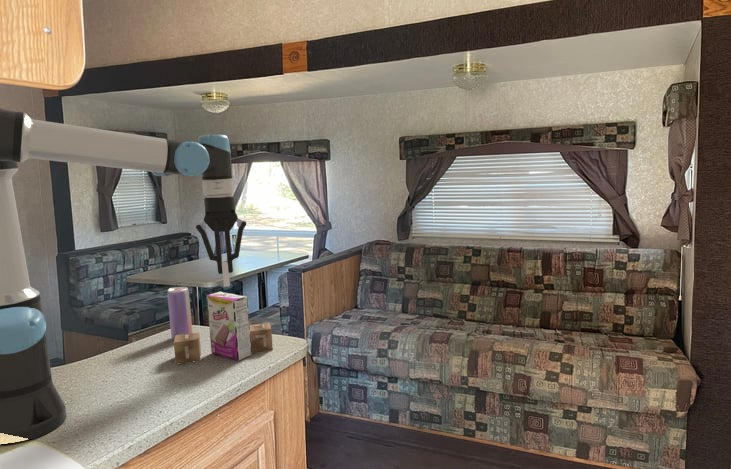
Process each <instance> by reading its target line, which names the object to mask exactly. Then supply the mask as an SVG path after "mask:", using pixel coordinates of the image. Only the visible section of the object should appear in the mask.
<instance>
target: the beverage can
mask: <svg viewBox="0 0 731 469" xmlns="http://www.w3.org/2000/svg"><path fill="white" fill-rule="evenodd" d="M166 295H167V304H168V306H167V307H168V314H169V316H168V317H169V324H170V325H169V326H170V336H171V339H172V341H174V340H175V336H176V335H181V334H190V333H193V325H192V324H193V323H192V312H191V303H190V302H191V301H190V290H189V287H187V286H175V287H170V288H168V289H167V294H166Z"/></svg>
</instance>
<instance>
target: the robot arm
mask: <svg viewBox="0 0 731 469" xmlns="http://www.w3.org/2000/svg"><path fill="white" fill-rule="evenodd" d="M197 140H198V141H197V142H196V141H192V140H187V141H183V140H176V139H175V140H174V139H167V138H162V137H156V136H149V135H148V136H147V135H141V134H134V133H129V132H121V131H115V130H110V129H109V130H107V129H100V128H95V127H93V128H92V127H87V126H81V125H80V126H79V125H72V124H69V123H68V124H67V123H59V122H53V121H47V120H40V119H33V118H31V117H30V116H29V115H28V114H27V113H26V112H21V111H16V110H15V111H14V110H11V109H10V110H9V109H5V108H0V433H4V434H8V435H13V436H19V437H23V438H28V439H31V440H33V439H37V438H39V437H41V436H45V435H47V434H48V433H50V432H52V431H54V430H56V429H57V428H58V427H60V426H61V425H62V424H64V422H65V421H66V419H67V417H68V416H67V410H66V408H67V407H66V405H65V402H64V400H63V399H62V397H61V396H60V394H59V392H58V390H57V388H56V387H55V384H54V382H53V377H52V371H51V370H52V369H51V368H52V367H51V361H50V354H49V347H48V346H49V345H48V339H47V338H48V337H47V321H46V316H45V315H44V311H43V305H42V298H41V294H40V291H39V290H38V289H35V288H34V287H32V286H31V282H30V276H29V270H28V265H27V259H26V253H25V247H24V242H23V241H24V240H23V237H22V230H21V224H20V218H19V213H18V209H17V208H18V206H17V201H16V197H15V190H14V186H13V185H14V184H13V180H12V179H13V176H14V175H16V173H17V172H18V171H19V164H18V163H24V162H25V161H27V160H28V159H29V160H30V159H35V160H44V161H51V162H52V161H53V162H61V163H70V164H71V163H72V164H78V165H79V164H80V165H87V166H99V167H104V168H105V167H106V168H114V169H115V168H116V169H124V170H132V171H140V172H141V171H143V172H151V173H152V175H154V176H155V177H168V176H179V177H180V176H181V177H182V176H185V177H191V178H192V177H193V178H194V177H197V176H199V175H201V179H202V181H201V182H202V190H203V191H202V192H203V194H202V195H204V196H205V197H204V199H203V203H204V213H205V214H204V217H203V220H202V221H201V222H200V223H197V224H196V226H195V229H196V230H197V231H198V233H199V234H200V236H201V239H202V241H203V245H204V247H205V249H206V254H207V255H208V258H209V260H210V261H215V262H216V264H217V273H218V275H222V281H223V287H226V288H227V287H230V286H231V285H230V282H231V281H230V274H231V273H233V271H234V266H233V265H234V264H233V260H235V259H238V258H239V257H240V250H241V245H242V239H243V234H244V230H245V227H246V226H247V221H246V220H243V219H241V218H240V217H238V214H237V213H236V204H235V197H234V195H233V194H234V192H235V191H234V180H233V179H234V178H233V172H232V171H233V170H232V169H233V168H232V156H231V154H232V151H231V146H230V139H229V137H228V136H227V135H225V134H206V135H205V134H202V135H200V136H199V137H198V139H197ZM235 224H236V227H237V234H236V238H235V239H236V240H235V246H234V251H233V253H232V243H231V242H232V241H231V232H230V231H231V230H232V228H234V226H235ZM206 225H207V226H208V228H209V229H211V231H212V232H213V233H214V242H215V244H214V245H215V253H214V251H213V250H214V249H213V248H212V245H211V243H210V240H209V236H208V233H207V232H206V229H207V226H206ZM221 232H223V233H224V238H225V239H224V240H225V248H226V259H222V258H223V257H222V246H221V245H222V244H221ZM215 254H216V255H215Z"/></svg>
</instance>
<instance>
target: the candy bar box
mask: <svg viewBox="0 0 731 469" xmlns="http://www.w3.org/2000/svg"><path fill="white" fill-rule="evenodd" d="M206 304H207V317H208V325H209V326H208V327H209V328H208V329H209V335H210V337H209V338H210V349H211V350H210V351H211V353H212V354H214V355H218V356H221V357H224V358H229V359H231V360H234V361H238V362H240V361H242V360H245V359H246V358H249V357H251V356H252V355H253V354H252V353H253V352H251V341H250V327H249V325H250V318H249V303H248V296H245V295H240V294H235V293H231V292H230V293H229V292H225V291H216V292H213V293H210V294H207V295H206Z"/></svg>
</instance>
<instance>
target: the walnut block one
mask: <svg viewBox="0 0 731 469" xmlns="http://www.w3.org/2000/svg"><path fill="white" fill-rule="evenodd" d="M173 349H174V359H175V365H178V364H177V363H183V364H187V363H186V362H191V363H194V362H193V361H199V362H201V357H200V356H201V355H202V348H201V340H200V332H192V333H190V334H181V335H176V336H175V340H173Z"/></svg>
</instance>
